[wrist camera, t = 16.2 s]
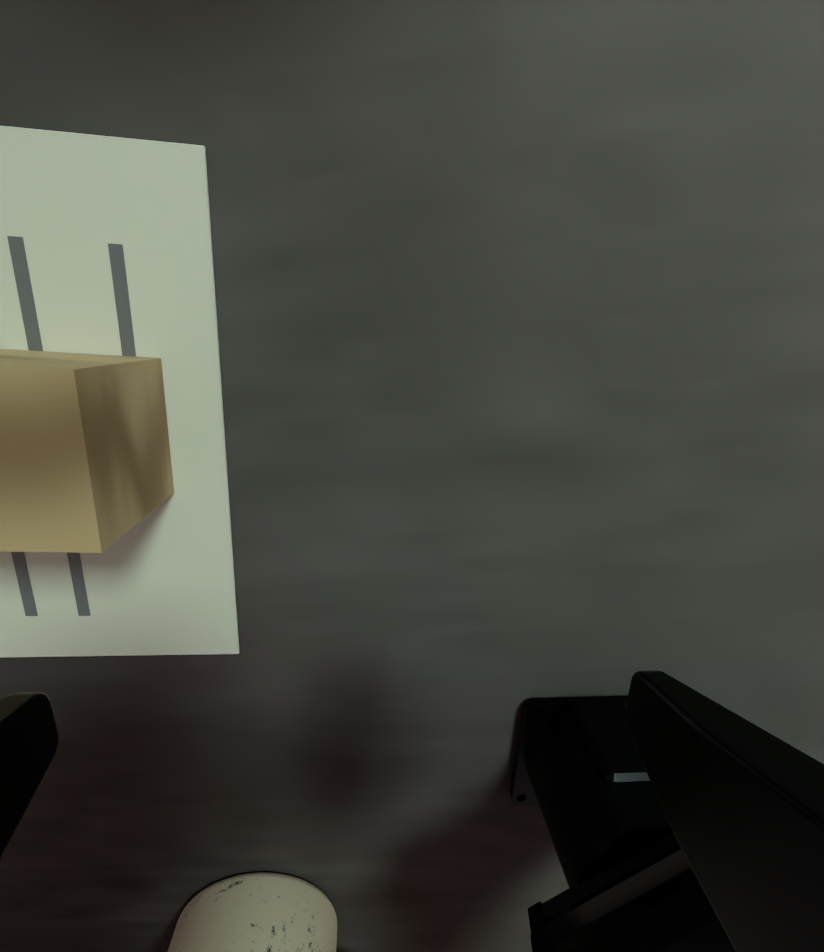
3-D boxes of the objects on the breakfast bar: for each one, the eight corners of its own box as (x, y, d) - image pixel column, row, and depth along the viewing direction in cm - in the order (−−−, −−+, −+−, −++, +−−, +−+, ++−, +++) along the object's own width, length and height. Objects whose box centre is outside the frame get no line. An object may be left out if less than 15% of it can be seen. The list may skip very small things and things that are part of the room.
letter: (239, 652, 20) (238, 654, 20) (-144, 657, 18) (-148, 660, 18) (205, 146, 14) (203, 144, 14) (-354, 92, 13) (-360, 89, 13)
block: (174, 492, 17) (102, 552, 13) (32, 488, 17) (-98, 550, 12) (161, 357, 16) (73, 369, 11) (5, 348, 15) (-156, 356, 11)
